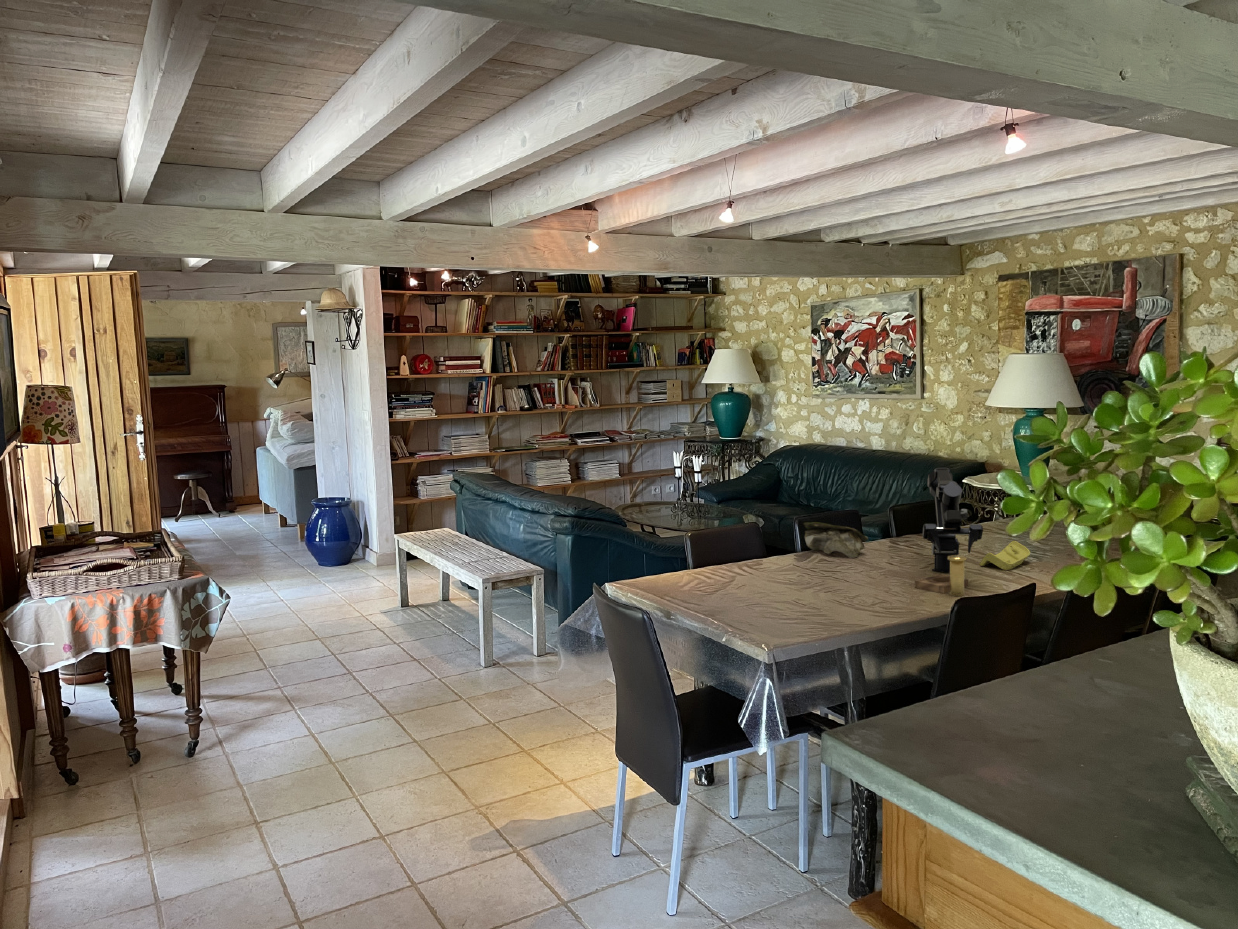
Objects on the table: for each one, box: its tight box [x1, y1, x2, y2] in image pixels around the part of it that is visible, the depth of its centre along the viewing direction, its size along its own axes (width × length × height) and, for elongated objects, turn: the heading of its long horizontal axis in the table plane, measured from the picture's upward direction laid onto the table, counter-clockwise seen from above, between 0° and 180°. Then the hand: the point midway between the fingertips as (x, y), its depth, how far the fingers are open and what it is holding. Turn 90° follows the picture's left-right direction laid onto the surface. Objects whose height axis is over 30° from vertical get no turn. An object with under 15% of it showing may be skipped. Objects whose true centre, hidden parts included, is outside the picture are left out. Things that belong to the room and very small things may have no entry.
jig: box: [914, 573, 969, 594], centre depth 302 cm, size 11×14×2 cm
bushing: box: [948, 554, 968, 597], centre depth 292 cm, size 6×6×12 cm
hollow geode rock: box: [803, 521, 869, 559], centre depth 360 cm, size 28×13×15 cm
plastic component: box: [979, 540, 1031, 571], centre depth 332 cm, size 20×7×10 cm
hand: (954, 552), depth 297 cm, fingers open, 9 cm apart
